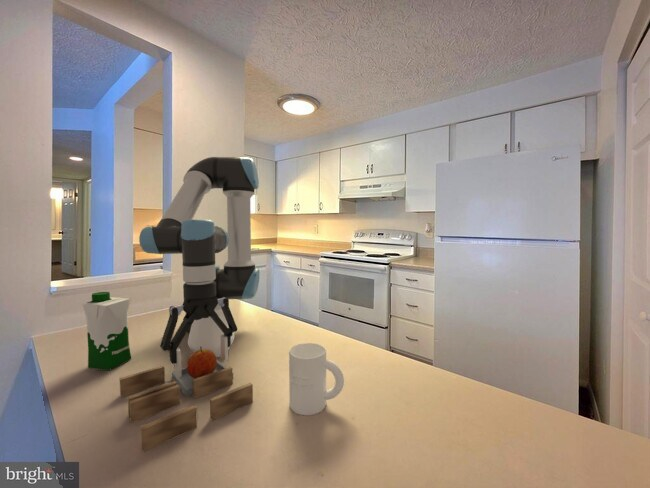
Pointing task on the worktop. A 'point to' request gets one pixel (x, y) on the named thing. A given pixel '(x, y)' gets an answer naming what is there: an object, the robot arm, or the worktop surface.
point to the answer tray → (190, 379)
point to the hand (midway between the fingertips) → (202, 366)
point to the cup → (207, 334)
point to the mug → (311, 378)
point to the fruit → (201, 363)
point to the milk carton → (107, 331)
